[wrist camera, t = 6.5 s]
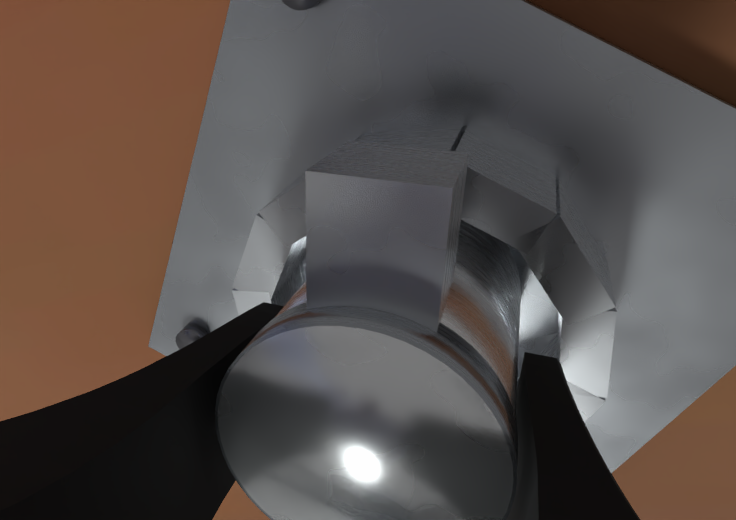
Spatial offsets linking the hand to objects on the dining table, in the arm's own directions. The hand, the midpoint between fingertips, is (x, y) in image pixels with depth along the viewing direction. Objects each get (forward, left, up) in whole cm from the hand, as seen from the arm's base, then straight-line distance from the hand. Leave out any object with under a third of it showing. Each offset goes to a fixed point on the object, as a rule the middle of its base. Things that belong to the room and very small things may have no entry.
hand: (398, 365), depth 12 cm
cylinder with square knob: (0, 0, -3) cm, 3 cm away
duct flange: (0, 0, -3) cm, 3 cm away
